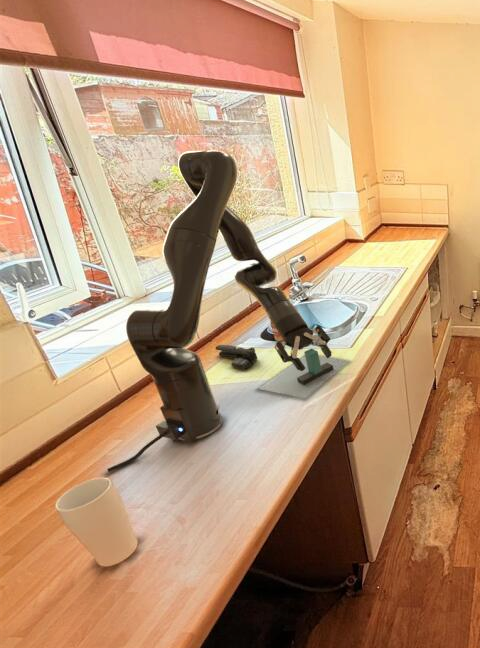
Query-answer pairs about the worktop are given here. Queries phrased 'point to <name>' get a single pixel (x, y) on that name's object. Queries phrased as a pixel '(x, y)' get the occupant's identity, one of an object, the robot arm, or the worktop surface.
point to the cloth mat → (288, 377)
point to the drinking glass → (98, 520)
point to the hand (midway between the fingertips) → (316, 363)
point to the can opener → (238, 355)
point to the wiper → (314, 367)
